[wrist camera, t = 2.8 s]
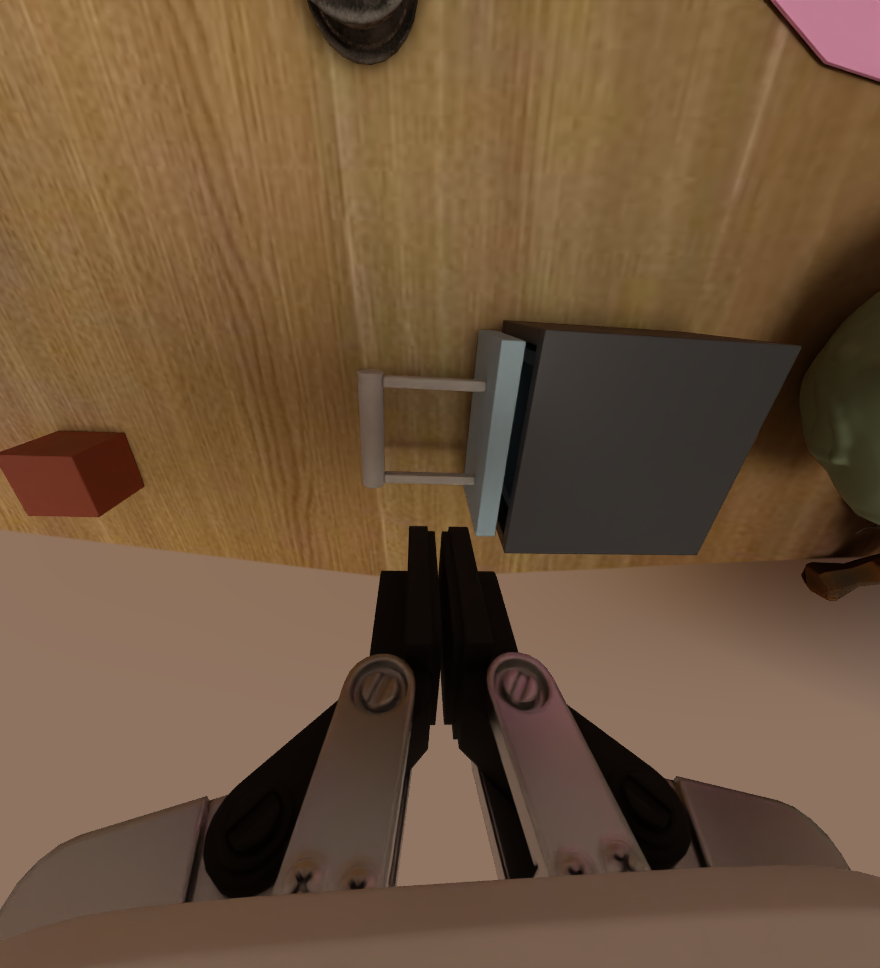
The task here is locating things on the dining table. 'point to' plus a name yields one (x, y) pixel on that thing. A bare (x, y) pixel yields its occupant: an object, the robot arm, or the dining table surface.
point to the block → (72, 473)
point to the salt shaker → (364, 26)
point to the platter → (839, 32)
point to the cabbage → (848, 409)
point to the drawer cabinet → (633, 436)
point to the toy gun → (841, 576)
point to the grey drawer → (490, 429)
